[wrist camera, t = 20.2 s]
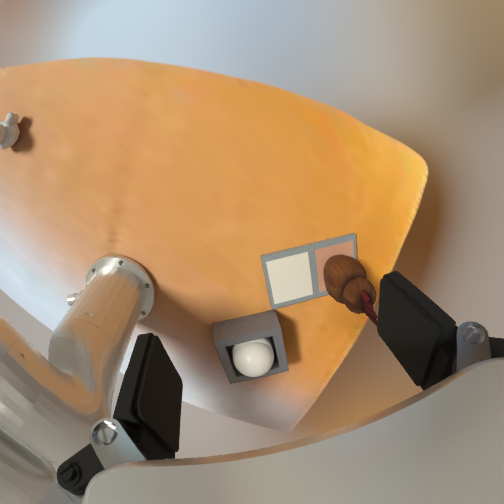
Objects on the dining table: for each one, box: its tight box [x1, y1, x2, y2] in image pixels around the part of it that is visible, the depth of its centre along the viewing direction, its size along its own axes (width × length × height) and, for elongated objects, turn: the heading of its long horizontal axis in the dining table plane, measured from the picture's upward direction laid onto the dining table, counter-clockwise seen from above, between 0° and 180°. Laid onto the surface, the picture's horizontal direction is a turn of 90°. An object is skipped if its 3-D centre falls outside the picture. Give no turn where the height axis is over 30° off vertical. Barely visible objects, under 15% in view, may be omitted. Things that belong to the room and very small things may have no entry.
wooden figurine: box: [323, 255, 378, 326], centre depth 37 cm, size 7×6×15 cm
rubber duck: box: [0, 112, 20, 149], centre depth 24 cm, size 5×7×8 cm
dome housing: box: [213, 309, 289, 384], centre depth 46 cm, size 11×11×5 cm
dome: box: [232, 337, 274, 377], centre depth 44 cm, size 7×7×7 cm
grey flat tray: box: [261, 233, 357, 310], centre depth 44 cm, size 16×10×1 cm, turn 102°
